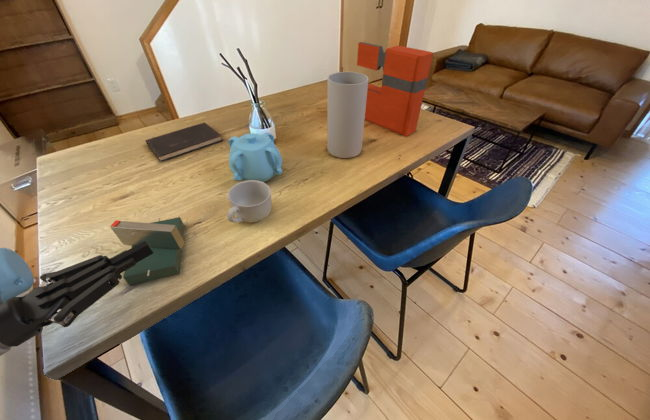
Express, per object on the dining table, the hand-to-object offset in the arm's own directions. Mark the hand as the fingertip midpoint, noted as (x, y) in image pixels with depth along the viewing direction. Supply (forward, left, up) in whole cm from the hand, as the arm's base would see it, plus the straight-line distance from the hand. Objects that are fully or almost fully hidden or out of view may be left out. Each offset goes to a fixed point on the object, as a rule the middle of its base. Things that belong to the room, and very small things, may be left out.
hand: (149, 247), depth 57 cm
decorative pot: (+41, 0, -8) cm, 41 cm away
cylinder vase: (+65, -22, -8) cm, 69 cm away
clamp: (+94, -28, -8) cm, 99 cm away
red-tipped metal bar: (+4, +5, -5) cm, 8 cm away
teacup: (+22, -9, -8) cm, 25 cm away
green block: (+4, +5, -8) cm, 10 cm away
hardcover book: (+49, +37, -8) cm, 62 cm away
